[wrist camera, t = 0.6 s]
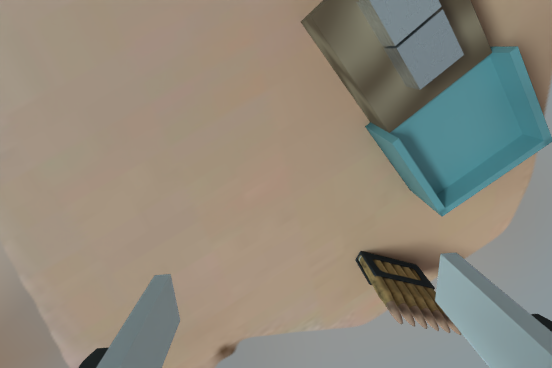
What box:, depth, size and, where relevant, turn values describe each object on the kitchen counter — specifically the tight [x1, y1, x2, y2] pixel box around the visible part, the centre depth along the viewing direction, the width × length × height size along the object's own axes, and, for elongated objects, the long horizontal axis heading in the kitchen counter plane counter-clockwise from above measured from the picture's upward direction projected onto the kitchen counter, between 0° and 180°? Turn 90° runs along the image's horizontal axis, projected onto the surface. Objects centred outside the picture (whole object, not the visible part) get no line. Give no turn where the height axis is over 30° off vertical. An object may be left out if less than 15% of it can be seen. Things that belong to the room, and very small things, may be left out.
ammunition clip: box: [356, 251, 461, 335], centre depth 40 cm, size 11×2×12 cm, turn 70°
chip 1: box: [357, 0, 442, 46], centre depth 24 cm, size 4×4×2 cm
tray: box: [365, 46, 552, 216], centre depth 33 cm, size 12×14×7 cm
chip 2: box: [384, 9, 464, 90], centre depth 26 cm, size 4×4×2 cm
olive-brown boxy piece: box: [301, 0, 492, 133], centre depth 29 cm, size 14×12×5 cm
